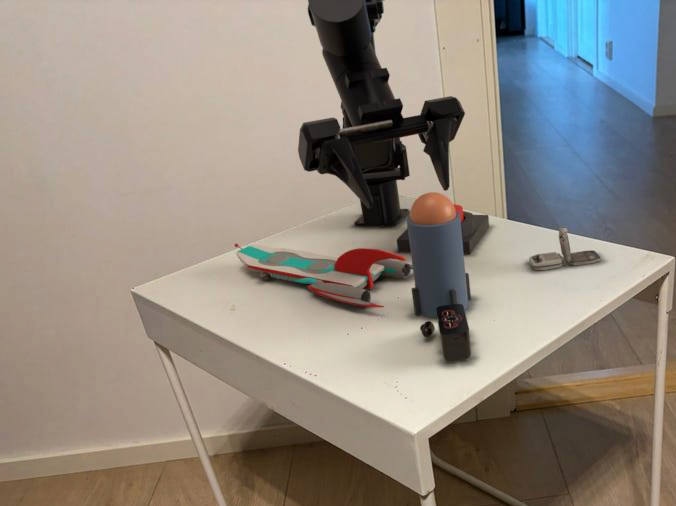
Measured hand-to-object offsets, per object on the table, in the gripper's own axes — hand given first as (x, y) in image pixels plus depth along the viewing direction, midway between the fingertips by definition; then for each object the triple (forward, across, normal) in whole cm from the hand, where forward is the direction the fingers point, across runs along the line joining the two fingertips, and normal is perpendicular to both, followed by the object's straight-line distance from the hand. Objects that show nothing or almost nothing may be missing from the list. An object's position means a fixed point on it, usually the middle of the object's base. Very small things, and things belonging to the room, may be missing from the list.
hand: (410, 197), depth 79 cm
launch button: (-2, -9, -13) cm, 16 cm away
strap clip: (+11, -18, -5) cm, 21 cm away
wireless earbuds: (+18, +4, +2) cm, 19 cm away
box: (-1, -9, -16) cm, 19 cm away
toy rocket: (+12, 0, -3) cm, 13 cm away
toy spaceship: (+1, +10, -15) cm, 18 cm away
